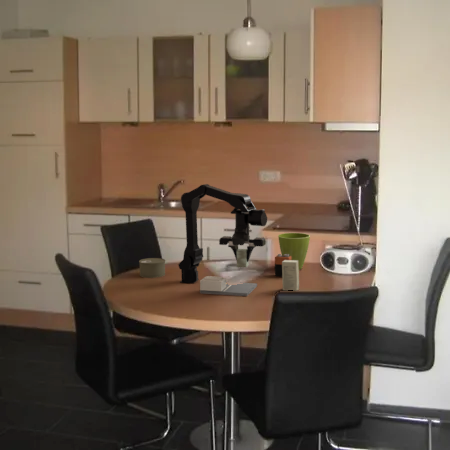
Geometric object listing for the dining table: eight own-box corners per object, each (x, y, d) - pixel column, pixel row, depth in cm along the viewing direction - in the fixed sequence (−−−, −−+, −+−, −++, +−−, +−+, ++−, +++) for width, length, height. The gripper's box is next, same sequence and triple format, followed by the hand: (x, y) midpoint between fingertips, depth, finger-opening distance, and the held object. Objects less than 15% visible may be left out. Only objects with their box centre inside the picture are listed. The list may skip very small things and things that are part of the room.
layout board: (199, 293, 275) (199, 290, 275) (212, 283, 291) (212, 280, 291) (247, 296, 270) (246, 293, 269) (257, 286, 286) (256, 283, 286)
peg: (236, 267, 280) (236, 250, 279) (239, 265, 284) (239, 248, 283) (246, 267, 279) (245, 250, 278) (248, 265, 283) (248, 249, 282)
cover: (200, 290, 274) (200, 279, 273) (205, 286, 281) (205, 275, 280) (221, 291, 272) (221, 280, 271) (226, 287, 278) (226, 276, 277)
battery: (289, 277, 301) (289, 255, 299) (274, 276, 303) (274, 254, 302) (291, 275, 305) (291, 253, 303) (277, 274, 307) (277, 252, 306)
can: (170, 275, 308) (169, 261, 307) (146, 279, 302) (146, 264, 301) (157, 271, 318) (157, 256, 317) (135, 274, 312) (134, 260, 311)
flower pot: (311, 271, 311) (311, 237, 309) (279, 272, 312) (279, 238, 309) (308, 265, 326) (308, 232, 324) (277, 265, 326) (277, 233, 324)
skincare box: (299, 288, 280) (299, 260, 278) (297, 291, 276) (297, 262, 274) (284, 287, 282) (284, 259, 280) (281, 290, 278) (281, 261, 276)
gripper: (215, 226, 274) (215, 264, 276) (259, 228, 269) (259, 266, 271) (222, 222, 284) (223, 259, 287) (265, 224, 279) (265, 261, 281)
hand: (242, 261), depth 281 cm, fingers closed on peg, 4 cm apart
